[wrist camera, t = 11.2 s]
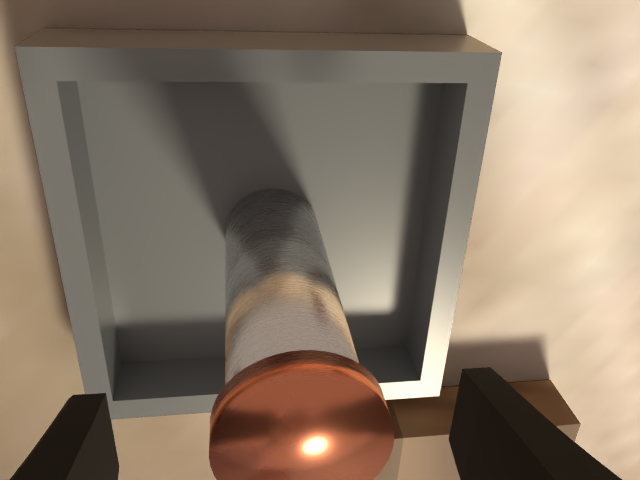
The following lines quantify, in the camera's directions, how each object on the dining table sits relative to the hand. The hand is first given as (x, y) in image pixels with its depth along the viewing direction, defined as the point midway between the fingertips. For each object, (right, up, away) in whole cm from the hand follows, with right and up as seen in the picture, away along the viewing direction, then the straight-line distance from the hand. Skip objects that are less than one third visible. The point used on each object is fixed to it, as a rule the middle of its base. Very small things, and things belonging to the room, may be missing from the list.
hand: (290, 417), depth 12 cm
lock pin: (-1, +4, +7) cm, 8 cm away
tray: (-1, +4, +8) cm, 9 cm away
